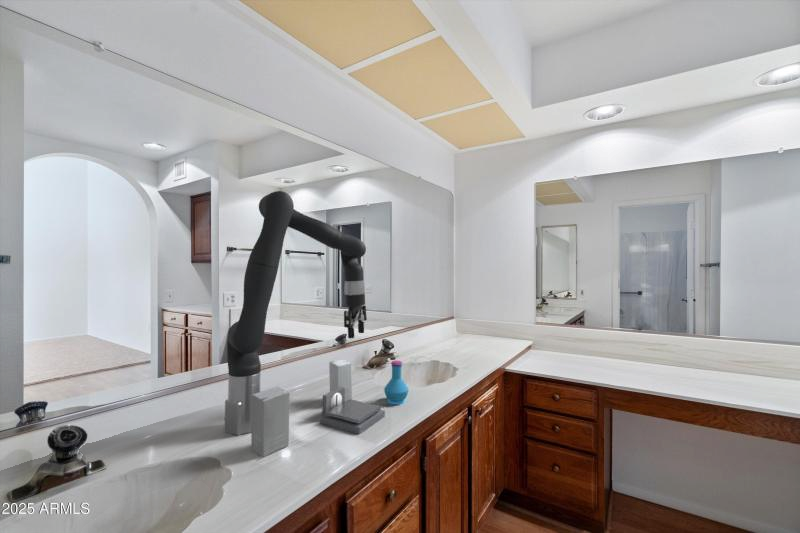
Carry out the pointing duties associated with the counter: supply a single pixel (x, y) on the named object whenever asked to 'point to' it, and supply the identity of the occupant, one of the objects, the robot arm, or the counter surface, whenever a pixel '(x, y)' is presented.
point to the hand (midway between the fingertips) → (356, 335)
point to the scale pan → (353, 411)
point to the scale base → (332, 401)
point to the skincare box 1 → (270, 421)
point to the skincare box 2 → (341, 377)
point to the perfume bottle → (396, 385)
